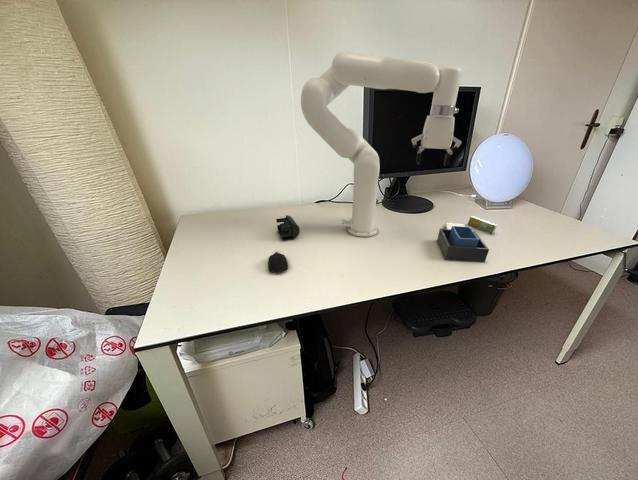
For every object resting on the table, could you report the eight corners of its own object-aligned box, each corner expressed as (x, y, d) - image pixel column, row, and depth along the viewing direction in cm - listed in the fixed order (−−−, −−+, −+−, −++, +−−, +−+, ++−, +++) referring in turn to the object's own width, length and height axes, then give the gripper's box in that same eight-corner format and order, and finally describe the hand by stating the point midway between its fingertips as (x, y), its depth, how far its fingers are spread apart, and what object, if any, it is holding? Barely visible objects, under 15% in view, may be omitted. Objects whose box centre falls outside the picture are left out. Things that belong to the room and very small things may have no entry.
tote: (445, 259, 100) (448, 246, 97) (437, 240, 113) (439, 228, 110) (484, 262, 99) (489, 249, 96) (471, 242, 112) (475, 230, 109)
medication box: (494, 233, 121) (498, 224, 119) (491, 234, 119) (495, 225, 117) (469, 223, 128) (473, 215, 126) (466, 224, 127) (469, 216, 125)
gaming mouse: (285, 251, 101) (284, 242, 99) (289, 273, 89) (288, 263, 87) (267, 253, 99) (266, 243, 97) (269, 276, 88) (267, 265, 85)
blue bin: (454, 255, 101) (459, 238, 97) (447, 241, 110) (451, 225, 106) (473, 256, 101) (479, 239, 97) (465, 243, 110) (470, 226, 106)
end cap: (300, 238, 110) (299, 223, 106) (283, 241, 108) (281, 225, 104) (294, 229, 118) (292, 214, 114) (277, 231, 115) (275, 216, 111)
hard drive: (463, 227, 125) (468, 239, 115) (445, 225, 126) (447, 237, 116) (464, 224, 124) (469, 235, 114) (445, 222, 125) (448, 233, 115)
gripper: (465, 112, 95) (453, 164, 104) (414, 110, 96) (407, 161, 105) (471, 113, 89) (458, 168, 98) (417, 111, 90) (409, 166, 99)
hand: (431, 165), depth 102 cm, fingers open, 9 cm apart
